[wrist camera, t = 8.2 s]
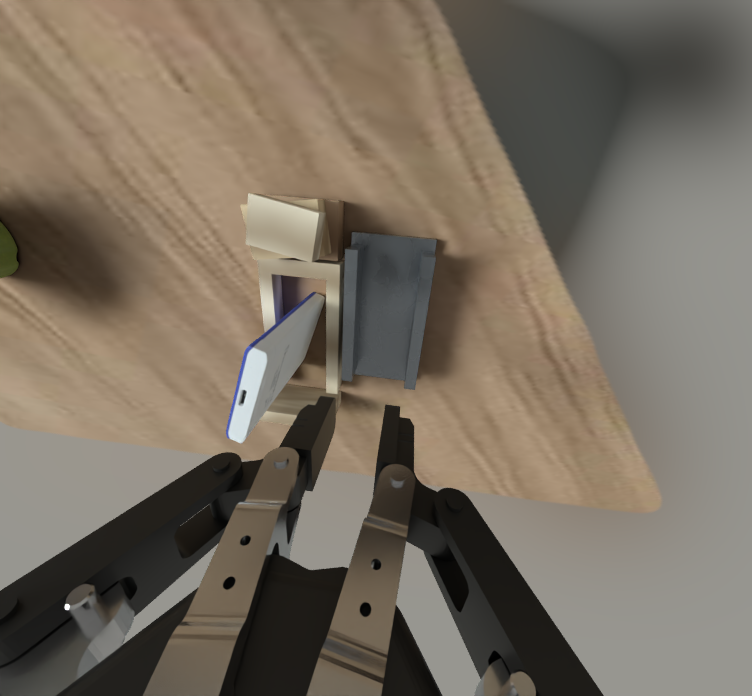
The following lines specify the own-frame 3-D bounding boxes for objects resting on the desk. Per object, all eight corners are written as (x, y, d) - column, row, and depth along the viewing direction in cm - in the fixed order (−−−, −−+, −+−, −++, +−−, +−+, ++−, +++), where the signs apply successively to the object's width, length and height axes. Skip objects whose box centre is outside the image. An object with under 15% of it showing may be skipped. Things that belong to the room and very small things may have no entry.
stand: (353, 231, 26) (344, 235, 22) (436, 238, 25) (439, 244, 22) (348, 369, 32) (340, 388, 28) (414, 377, 31) (414, 398, 28)
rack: (267, 253, 27) (238, 262, 23) (344, 261, 27) (330, 271, 22) (279, 392, 34) (258, 420, 30) (341, 401, 34) (329, 431, 29)
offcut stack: (263, 194, 25) (224, 191, 20) (344, 201, 25) (325, 199, 20) (268, 252, 27) (234, 262, 22) (342, 259, 27) (325, 272, 22)
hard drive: (289, 357, 32) (223, 436, 21) (311, 290, 28) (245, 343, 17) (303, 363, 32) (244, 445, 21) (326, 297, 29) (270, 354, 18)
